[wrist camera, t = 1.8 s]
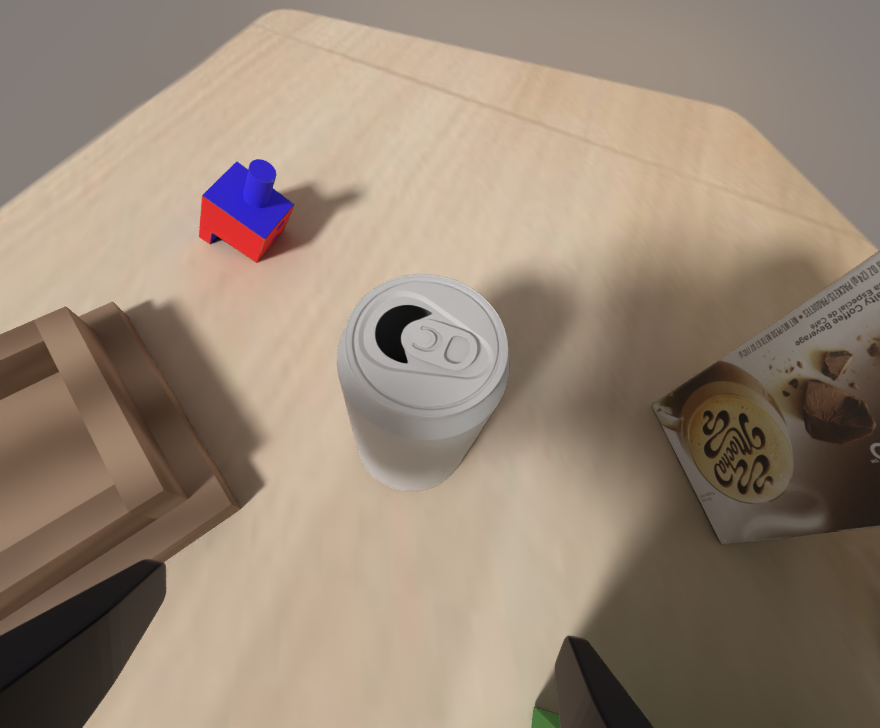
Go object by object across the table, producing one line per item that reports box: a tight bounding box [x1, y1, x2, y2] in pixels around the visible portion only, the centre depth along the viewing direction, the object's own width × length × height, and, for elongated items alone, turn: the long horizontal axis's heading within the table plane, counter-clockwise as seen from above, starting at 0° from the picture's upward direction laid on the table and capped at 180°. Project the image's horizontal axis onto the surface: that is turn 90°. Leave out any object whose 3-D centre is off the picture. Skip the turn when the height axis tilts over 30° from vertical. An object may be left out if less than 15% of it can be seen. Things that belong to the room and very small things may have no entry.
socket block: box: [0, 302, 241, 635], centre depth 20 cm, size 15×15×4 cm
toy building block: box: [199, 159, 294, 263], centre depth 28 cm, size 4×4×8 cm
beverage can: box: [337, 274, 509, 492], centre depth 19 cm, size 6×6×12 cm
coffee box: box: [652, 250, 880, 544], centre depth 19 cm, size 9×6×16 cm
